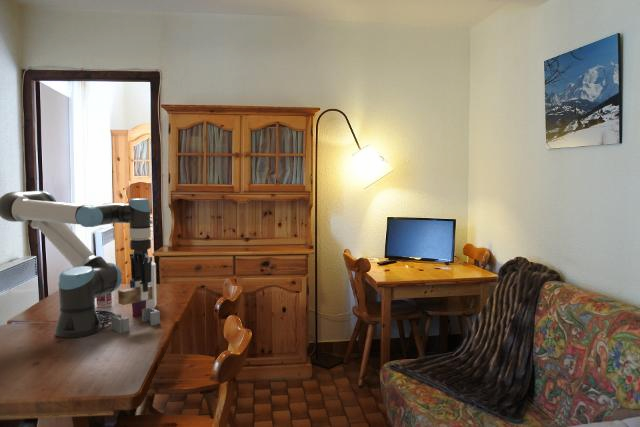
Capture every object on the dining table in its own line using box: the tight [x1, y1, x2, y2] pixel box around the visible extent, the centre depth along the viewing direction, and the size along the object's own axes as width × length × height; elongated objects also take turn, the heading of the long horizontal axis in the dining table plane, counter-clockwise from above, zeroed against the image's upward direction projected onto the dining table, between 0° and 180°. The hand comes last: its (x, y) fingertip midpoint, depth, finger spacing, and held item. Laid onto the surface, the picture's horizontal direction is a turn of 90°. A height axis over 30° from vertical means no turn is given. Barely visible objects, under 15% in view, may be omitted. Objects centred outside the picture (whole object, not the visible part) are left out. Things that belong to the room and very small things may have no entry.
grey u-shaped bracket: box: [110, 313, 130, 334], centre depth 187 cm, size 4×7×5 cm, turn 47°
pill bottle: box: [96, 292, 113, 308], centre depth 219 cm, size 6×6×11 cm
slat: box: [117, 285, 153, 306], centre depth 191 cm, size 12×4×5 cm, turn 139°
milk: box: [146, 260, 157, 309], centre depth 218 cm, size 6×6×22 cm
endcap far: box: [141, 308, 161, 326], centre depth 196 cm, size 4×7×5 cm, turn 47°
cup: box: [129, 278, 146, 318], centre depth 206 cm, size 7×7×15 cm
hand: (141, 298), depth 193 cm, fingers closed on slat, 4 cm apart
